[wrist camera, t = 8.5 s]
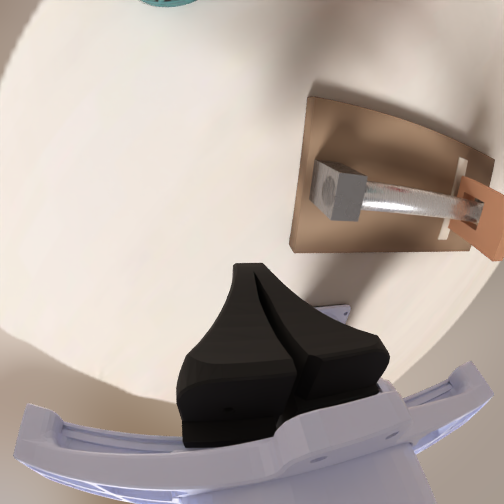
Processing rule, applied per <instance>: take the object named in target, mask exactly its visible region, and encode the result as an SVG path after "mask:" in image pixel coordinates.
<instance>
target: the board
mask: <svg viewBox="0 0 504 504" xmlns="http://www.w3.org/2000/svg"><path fill="white" fill-rule="evenodd" d="M315 159H316V160H324V161H332V162H340V163H342V164H344V165H346V166H348V167H350V168H352V169H354V170H356V171H358V172H360V173H362V174H364V175H366V176H368V178H367V181H374V182H381V183H387V184H393V185H399V186H405V187H411V188H416V189H422V190H427V191H432V192H437V193H442V194H446V195H451V196H455V197H457V194H458V190H459V186H460V182H461V177H462V176H465V177H468V178H471V179H473V180H476V181H478V182H480V183H482V184H484V185H486V186H488V187H489V186H490V181H491V177H492V172H493V167H494V162H495V160H494V159H493V158H491V157H489V156H487V155H485V154H483V153H481V152H479V151H477V150H476V149H474V148H472V147H469V146H467V145H465V144H463V143H461V142H459V141H457V140H455V139H452V138H450V137H448V136H445V135H443V134H441V133H438V132H436V131H433V130H431V129H428V128H426V127H423V126H420V125H418V124H415V123H412V122H409V121H406V120H403V119H400V118H397V117H394V116H391V115H388V114H385V113H381V112H378V111H374V110H371V109H367V108H363V107H359V106H355V105H351V104H347V103H343V102H338V101H334V100H329V99H324V98H319V97H307V107H306V117H305V126H304V135H303V144H302V153H301V161H300V169H299V177H298V185H297V192H296V200H295V207H294V214H293V221H292V228H291V235H290V241H289V245H290V247H291V249H292V250H293V252H294V253H354V252H442V251H469V250H470V248H471V244H470V243H468V242H467V241H466V240H464V239H463V238H462V237H460V236H459V235H457V234H456V233H455V232H453V231H452V230H450V229H449V228H448V226H449V222H450V219H447V218H439V217H430V216H421V215H411V214H401V213H390V212H379V211H366V210H361V212H360V216H359V220H358V222H354V221H332V220H330V219H329V218H328V217H327V216H326V215H325V214H324V213H323V212H322V211H321V210H320V209H319V208H318V207H316V206H315V205H314V204H313V203H312V202H311V201H310V200H309V195H310V189H311V182H312V175H313V167H314V160H315ZM474 201H476V198H475V200H474ZM473 223H474V224H476V225H477V226H478V223H477V222H473Z"/></svg>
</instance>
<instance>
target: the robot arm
mask: <svg viewBox="0 0 504 504" xmlns="http://www.w3.org/2000/svg"><path fill="white" fill-rule="evenodd" d="M350 310H351V307H350V305H337V306H326V307H315V308H314V307H312V306H311V305H309V304H308V303H306V302H305V301H304V300H302V299H301V298H300V297H298V296H297V295H296V294H295V293H293V292H292V291H291V290H290V289H289V288H288V287H286V286H285V285H284V284H283V283H282V282H281V281H280V280H279V279H278V278H277V277H276V276H275V275H274V274H273V273H272V272H271V271H270V270H269V269H268V268H267V267H266V266H265V265H264V264H263V263H236V264H234V265H233V279H232V285H231V288H230V291H229V294H228V296H227V299H226V302H225V304H224V306H223V308H222V310H221V312H220V314H219V315H218V317H217V319H216V320H215V322H214V324H213V325H212V327H211V328H210V329H209V331H208V332H207V333H206V334H205V336H204V337H203V338H202V339H201V341H200V342H199V343H198V344H197V345H196V346H195V347H194V348H193V349H192V350H191V351H190V352H189V353H188V354H187V355H186V357H185V360H184V362H183V365H182V367H181V370H180V373H179V377H178V381H177V387H176V400H177V406H178V409H179V413H180V416H181V419H182V437H176V436H155V435H142V434H132V433H124V432H116V431H109V430H103V429H97V428H91V427H87V426H82V425H77V424H73V423H68V422H64V421H63V420H62V419H61V417H60V416H59V415H58V414H57V413H56V412H54V411H52V410H50V409H47V408H44V407H40V406H37V405H34V404H30V403H27V405H26V408H25V411H24V415H23V418H22V422H21V425H20V429H19V433H18V437H17V441H16V446H15V450H14V455H13V456H14V458H15V459H16V460H18V461H19V462H21V463H22V464H24V465H26V466H27V467H29V468H30V469H32V470H34V471H35V472H37V473H39V474H40V475H42V476H44V477H46V478H47V479H49V480H52V481H55V482H57V483H60V484H63V485H66V486H69V487H72V488H75V489H79V490H82V491H85V492H89V493H92V494H96V495H100V496H104V497H108V498H112V499H116V500H121V501H126V502H131V503H136V504H437V502H436V500H435V497H434V495H433V492H432V490H431V488H430V486H429V483H428V481H427V478H426V476H425V474H424V472H423V470H422V467H421V465H420V463H419V461H418V458H417V456H416V454H418V453H420V452H421V451H423V450H425V449H426V448H428V447H430V446H431V445H433V444H435V443H436V442H438V441H439V440H441V439H442V438H444V437H445V436H447V435H449V434H450V433H451V432H453V431H454V430H456V429H457V428H459V427H460V426H462V425H463V424H464V423H466V422H467V421H468V420H469V419H470V418H472V417H473V416H474V414H476V413H477V412H478V411H479V410H480V409H481V408H482V407H483V406H484V405H485V404H486V403H487V402H488V401H489V400H490V399H491V398H492V397H493V396H494V392H493V391H492V389H491V388H490V387H489V385H488V384H487V382H486V381H485V379H484V378H483V376H482V375H481V374H480V372H479V371H478V369H477V368H476V366H475V365H474V364H473V362H472V361H468V362H467V363H464V364H462V365H461V366H459V367H457V368H456V369H455V370H454V371H453V372H452V373H451V375H450V376H449V378H448V379H446V380H444V381H442V382H440V383H438V384H436V385H434V386H431V387H429V388H427V389H425V390H422V391H420V392H418V393H415V394H413V395H410V396H408V397H405V398H402V397H401V395H400V394H399V393H398V392H397V391H396V389H395V388H394V386H393V385H392V383H391V382H390V381H389V380H386V379H383V378H380V377H381V376H382V374H383V373H384V371H385V370H386V368H387V366H388V364H389V360H390V355H389V353H388V351H387V349H386V348H385V346H384V345H383V343H382V341H381V340H380V338H379V337H378V336H377V335H374V334H371V333H368V332H364V331H361V330H358V329H355V328H353V327H351V326H348V325H346V321H347V318H348V316H349V313H350Z"/></svg>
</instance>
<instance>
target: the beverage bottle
mask: <svg viewBox="0 0 504 504" xmlns="http://www.w3.org/2000/svg"><path fill="white" fill-rule="evenodd" d="M141 1H143V2H145V3H147V5H148V4H150V5H151V6H152V5H154V6H158V7H176V6H181V5H186V4H189V3H192V2H194V1H197V0H141ZM145 3H144V4H145Z"/></svg>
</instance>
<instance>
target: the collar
mask: <svg viewBox="0 0 504 504" xmlns="http://www.w3.org/2000/svg"><path fill="white" fill-rule="evenodd" d="M457 197H460V198H464V199H468V200H472V201H474V200H475V198H477V199H479V200H480V201H482V202H484V206H483V210H482V213H481V216H480V220H479V223H478V226H477V225H476V224H474V223H473V222H470V221H463V220H455V219H450V222H449V226H448V228H449V229H450V230H452V231H453V232H455V233H456V234H457V235H459V236H460V237H462V238H463V239H464V240H466V241H467V242H468V243H470V244H471V245H472V246H474V247H475V248H476V249H478V250H479V251H480V252H481V253H483V254H484V255H485V256H486V257H488V258H489V259H490V260H491V261H502V260H503V258H504V195H503V194H501V193H499V192H497V191H495V190H494V189H492V188H490V187H488V186H486V185H484V184H482V183H480V182H478V181H476V180H473V179H471V178H468V177H465V176H462V177H461V182H460V186H459V190H458V194H457Z"/></svg>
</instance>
